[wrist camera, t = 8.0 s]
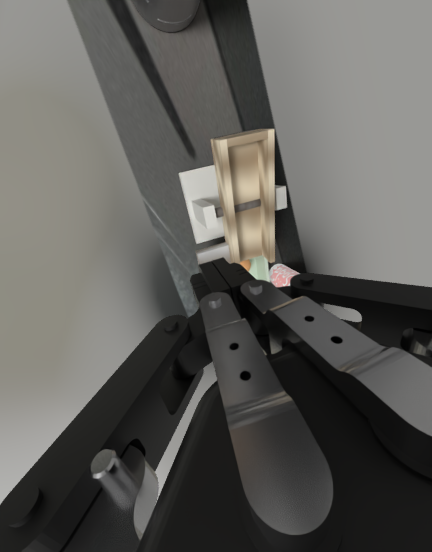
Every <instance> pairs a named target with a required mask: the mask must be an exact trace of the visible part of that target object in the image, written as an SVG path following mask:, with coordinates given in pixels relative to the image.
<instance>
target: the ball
mask: <svg viewBox="0 0 432 552" xmlns="http://www.w3.org/2000/svg"><path fill="white" fill-rule="evenodd" d="M240 264H241V265H242V266H243V267H244V268H245V269H246V270H247V271H248V272H249V270H250V268H251V262H250V260H249V259H248V260H245V261H242V262H240Z"/></svg>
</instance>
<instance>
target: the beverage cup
mask: <svg viewBox="0 0 432 552" xmlns="http://www.w3.org/2000/svg"><path fill="white" fill-rule="evenodd" d="M297 274H300V273H298V272H296V271H294V270H292V269H291V268H289V267H287V266H285V265H283V264H276V265H274V266H273V267H272V268H271V269H270V271H269V279H270V281H271V282H272V283H273V284H274V285H275V286H276V287H283V286H290V279H291V278H292V277H293V276H295V275H297Z"/></svg>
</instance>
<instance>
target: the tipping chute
mask: <svg viewBox="0 0 432 552" xmlns="http://www.w3.org/2000/svg"><path fill="white" fill-rule="evenodd" d="M211 145H212V152H213V159H214V166H215V173H216V180H217V186H218V193H219V200H220V207H218V208H215V213H216V218H219V217H222V221H223V228H224V234H225V241H226V242H224V243H221V244H217V245H214V246H210V247H207V248H203V249H200V250H197V251H196V255H197V259H198V263H199V264H202V263H206V262H209V261H212V260H215V259H219V258H222V257H224V258H225V260H226V261H227V262H228V263H229V264H231V263H234V262H235V263H238V264H240V262H242V261H245V260H248V259H251V258H255V257H258V256H261V255H263V256H264V257H265V258H266V259H267V260H268V261H269V262H270V263H272V262H275V172H274V129H257V130H248V131H244V132H239V133H234V134H229V135H225V136H220V137H215V138H214V139H211Z"/></svg>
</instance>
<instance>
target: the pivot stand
mask: <svg viewBox="0 0 432 552" xmlns="http://www.w3.org/2000/svg"><path fill="white" fill-rule="evenodd" d="M179 177H180V181H181V185H182V189H183V193H184V197H185V201H186V205H187V209H188V213H189V217H190V221H191V225H192V229H193V233H194V237H195V241H196V243H197V244H198V243H201V242H205V241H208V240H212V239H215V238H219V237H222V236H225V234H224V228H223V221H222V217H219V218H216V213H215V208H218V207H220V200H219V193H218V186H217V180H216V173H215V166H214V165H211V166H207V167H203V168H198V169H194V170H190V171H185V172H181V173H179ZM283 208H287V198H286V186H278V185H275V210H280V209H283Z"/></svg>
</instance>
